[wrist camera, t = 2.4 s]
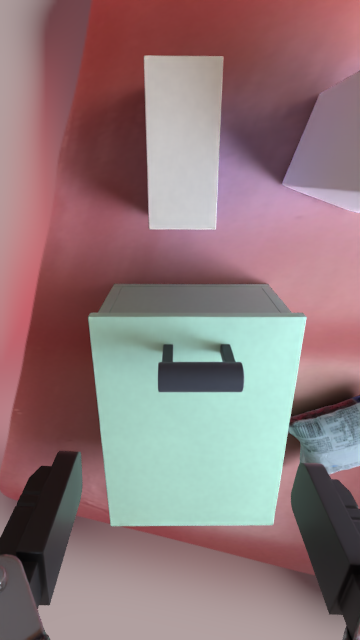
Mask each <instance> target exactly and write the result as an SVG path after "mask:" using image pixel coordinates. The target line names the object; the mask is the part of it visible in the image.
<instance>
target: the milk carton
mask: <svg viewBox="0 0 360 640" xmlns="http://www.w3.org/2000/svg"><path fill="white" fill-rule="evenodd" d="M282 185H283V186H285V187H287V188H290V189H292V190H295V191H298V192H301V193H303V194H306V195H309V196H311V197H314V198H317V199H319V200H322V201H325V202H327V203H330V204H333V205H335V206H338V207H341V208H343V209H346V210H349V211H352V212H356V213H360V71H358V72H356V73H355V74H353V75H351V76H349V77H348V78H346V79H344V80H342V81H341V82H339V83H337V84H335V85H334V86H332V87H330V88H328V89H327V90H325V91H323V92H321V93H320V94H319V96H318V99H317V101H316V104H315V106H314V108H313V111H312V113H311V116H310V118H309V120H308V123H307V125H306V128H305V130H304V132H303V135H302V137H301V139H300V142H299V144H298V147H297V149H296V151H295V154H294V156H293V159H292V161H291V163H290V166H289V168H288V171H287V173H286V175H285V178H284V180H283V183H282Z"/></svg>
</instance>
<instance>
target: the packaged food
mask: <svg viewBox="0 0 360 640" xmlns="http://www.w3.org/2000/svg"><path fill="white" fill-rule="evenodd" d="M288 432H289V433H290V434H292V435H293V436H295V437H296V438H297V439H298V440H299V441H300V444H301V449H300V463H319V464H323V465H324V467H325V468H326V470H327V472H328V474H329V475H331V474H334V473H335V472H337V471H338V472H339V471H341V470H346V469H350V468H353V467H356V466H359V465H360V395H359V396H356V397H353V398H351V399H348V400H345V401H342V402H340V403H337V404H335V405H331V406H326V407H323V408H320V409H316V410H313V411H309V412H306V413H303V414H300V415H296V416H293V417H292V418H290V422H289V428H288Z"/></svg>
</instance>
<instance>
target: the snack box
mask: <svg viewBox="0 0 360 640" xmlns="http://www.w3.org/2000/svg"><path fill="white" fill-rule="evenodd" d="M222 77H223V56H144V84H145V117H146V149H147V182H148V215H149V229H180V230H215V229H216V213H217V191H218V168H219V145H220V122H221V100H222Z"/></svg>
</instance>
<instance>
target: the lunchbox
mask: <svg viewBox="0 0 360 640" xmlns="http://www.w3.org/2000/svg"><path fill="white" fill-rule="evenodd" d="M98 313H292V312H291V311H290V310H289V309H288V307H287V306H286V305H285V304H284V303H283V301H282V300H281V299H280V298H279V297H278V296H277V294H276V293H275V292H274V291H273V290H272V288H271V287H270V286H269V285H268V284H114V285H113V287H112V289H111V290H110V292H109V294H108V296H107V297H106V299H105V301H104V303H103V304H102V306H101V308H100V310H99V311H98Z"/></svg>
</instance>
